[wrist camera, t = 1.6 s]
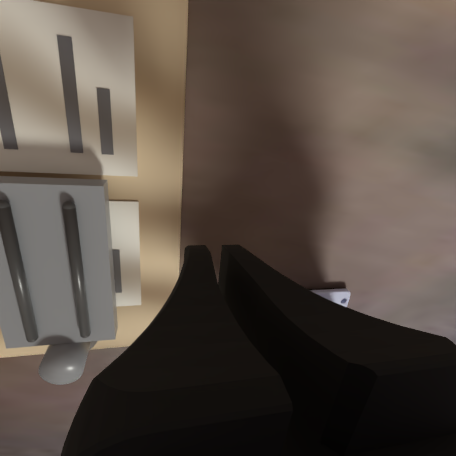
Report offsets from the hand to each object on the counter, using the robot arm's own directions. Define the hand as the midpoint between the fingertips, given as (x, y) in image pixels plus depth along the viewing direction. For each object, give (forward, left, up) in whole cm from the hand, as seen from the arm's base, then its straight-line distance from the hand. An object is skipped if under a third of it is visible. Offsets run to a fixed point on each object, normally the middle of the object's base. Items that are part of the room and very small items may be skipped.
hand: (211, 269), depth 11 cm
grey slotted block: (-5, +7, -8) cm, 12 cm away
